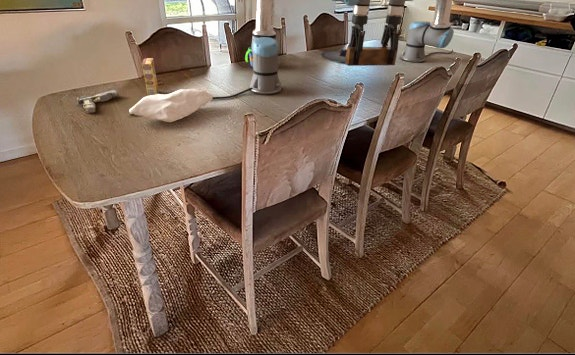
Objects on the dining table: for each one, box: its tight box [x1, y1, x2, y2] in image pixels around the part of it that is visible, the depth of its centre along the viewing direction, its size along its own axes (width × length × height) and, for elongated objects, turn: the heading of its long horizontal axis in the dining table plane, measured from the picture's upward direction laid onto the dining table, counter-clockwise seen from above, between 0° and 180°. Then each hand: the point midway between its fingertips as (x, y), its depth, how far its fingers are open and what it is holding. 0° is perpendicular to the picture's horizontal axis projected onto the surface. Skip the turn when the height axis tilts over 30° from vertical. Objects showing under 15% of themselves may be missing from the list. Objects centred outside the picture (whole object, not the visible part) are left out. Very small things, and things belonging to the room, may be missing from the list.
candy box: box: [141, 57, 160, 96], centre depth 163 cm, size 9×4×15 cm, turn 13°
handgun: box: [76, 89, 120, 114], centre depth 155 cm, size 3×18×15 cm
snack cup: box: [244, 46, 253, 68], centre depth 208 cm, size 16×10×10 cm
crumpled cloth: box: [129, 88, 214, 123], centre depth 147 cm, size 24×35×9 cm
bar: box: [344, 46, 398, 67], centre depth 189 cm, size 26×5×8 cm, turn 100°
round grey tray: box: [321, 42, 351, 63], centre depth 234 cm, size 35×35×9 cm
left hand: (353, 63), depth 190 cm, fingers closed on bar, 5 cm apart
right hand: (386, 61), depth 192 cm, fingers open, 9 cm apart
